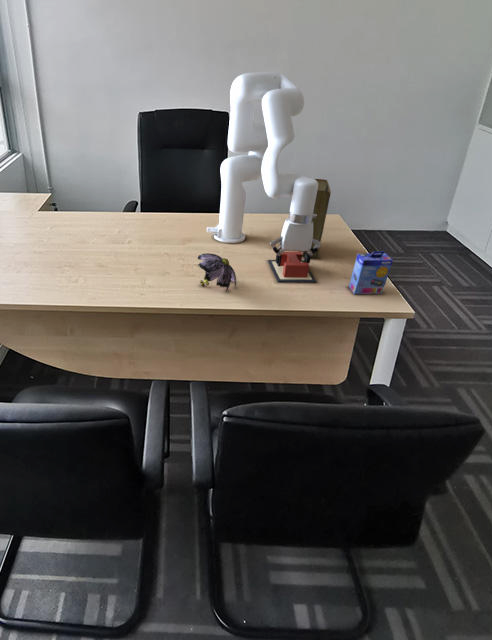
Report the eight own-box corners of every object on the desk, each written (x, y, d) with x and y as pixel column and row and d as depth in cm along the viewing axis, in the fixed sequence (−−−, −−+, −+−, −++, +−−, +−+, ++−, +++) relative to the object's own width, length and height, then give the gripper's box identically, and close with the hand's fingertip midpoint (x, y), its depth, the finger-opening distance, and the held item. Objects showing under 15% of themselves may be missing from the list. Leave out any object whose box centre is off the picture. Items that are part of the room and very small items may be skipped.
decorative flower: (238, 271, 150) (196, 248, 153) (221, 303, 155) (181, 281, 158) (249, 265, 162) (210, 245, 166) (233, 296, 167) (196, 275, 171)
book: (300, 242, 196) (311, 178, 182) (314, 243, 195) (327, 179, 181) (301, 258, 183) (314, 190, 169) (317, 259, 182) (331, 191, 168)
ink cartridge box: (354, 295, 158) (365, 253, 150) (347, 287, 163) (357, 246, 155) (383, 294, 159) (396, 252, 151) (376, 286, 163) (387, 245, 155)
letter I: (283, 277, 168) (285, 265, 165) (276, 263, 178) (278, 251, 175) (307, 277, 168) (309, 265, 165) (298, 263, 178) (300, 251, 175)
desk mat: (277, 282, 165) (278, 281, 165) (268, 260, 180) (268, 259, 180) (316, 282, 166) (316, 281, 165) (303, 261, 180) (303, 259, 180)
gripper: (323, 213, 165) (313, 261, 175) (272, 213, 165) (265, 260, 175) (329, 221, 159) (319, 269, 169) (276, 221, 159) (269, 269, 169)
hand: (291, 265), depth 172 cm, fingers open, 9 cm apart
